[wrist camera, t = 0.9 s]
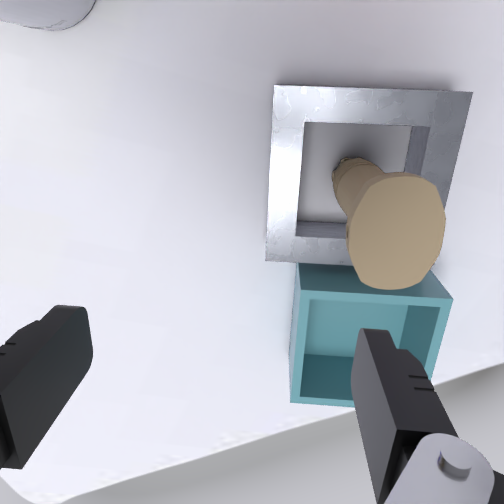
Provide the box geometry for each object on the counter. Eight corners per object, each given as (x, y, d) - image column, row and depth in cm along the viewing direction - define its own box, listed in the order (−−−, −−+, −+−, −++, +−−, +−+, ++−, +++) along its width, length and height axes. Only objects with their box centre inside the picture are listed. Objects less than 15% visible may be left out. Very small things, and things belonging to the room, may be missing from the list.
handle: (381, 135, 33) (454, 175, 19) (374, 208, 35) (434, 289, 22) (323, 137, 33) (353, 177, 19) (321, 209, 36) (345, 289, 22)
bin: (297, 254, 38) (300, 289, 31) (423, 261, 37) (453, 299, 31) (288, 354, 42) (290, 402, 36) (400, 361, 42) (421, 412, 36)
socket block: (274, 84, 32) (274, 85, 28) (450, 90, 31) (472, 92, 27) (266, 243, 37) (265, 260, 34) (414, 251, 37) (429, 269, 33)
